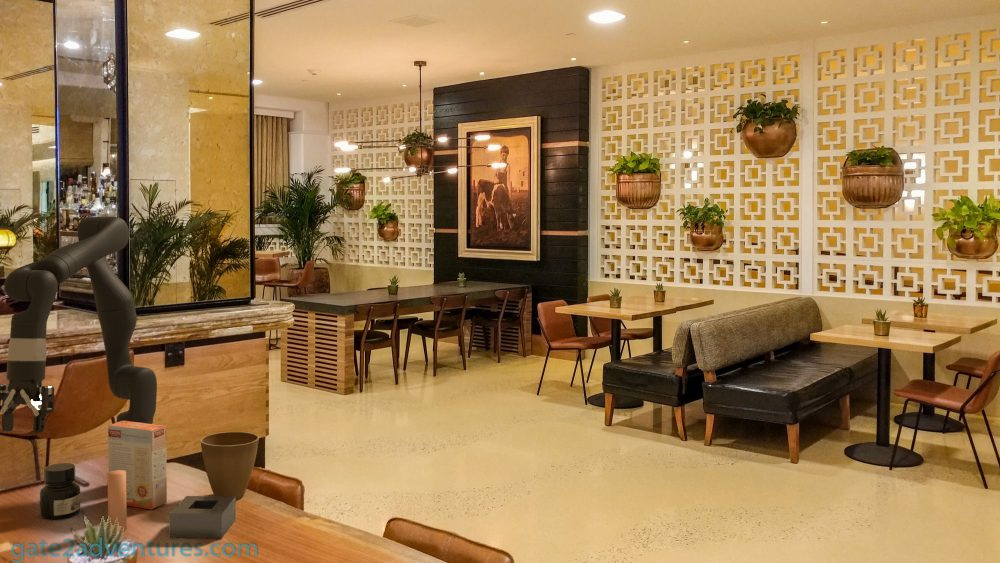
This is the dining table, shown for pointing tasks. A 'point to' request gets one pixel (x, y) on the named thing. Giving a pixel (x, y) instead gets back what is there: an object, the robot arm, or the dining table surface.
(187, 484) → the dining table surface
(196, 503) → the socket
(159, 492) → the cracker box
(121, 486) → the peg
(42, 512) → the ink bottle
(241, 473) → the plant pot
